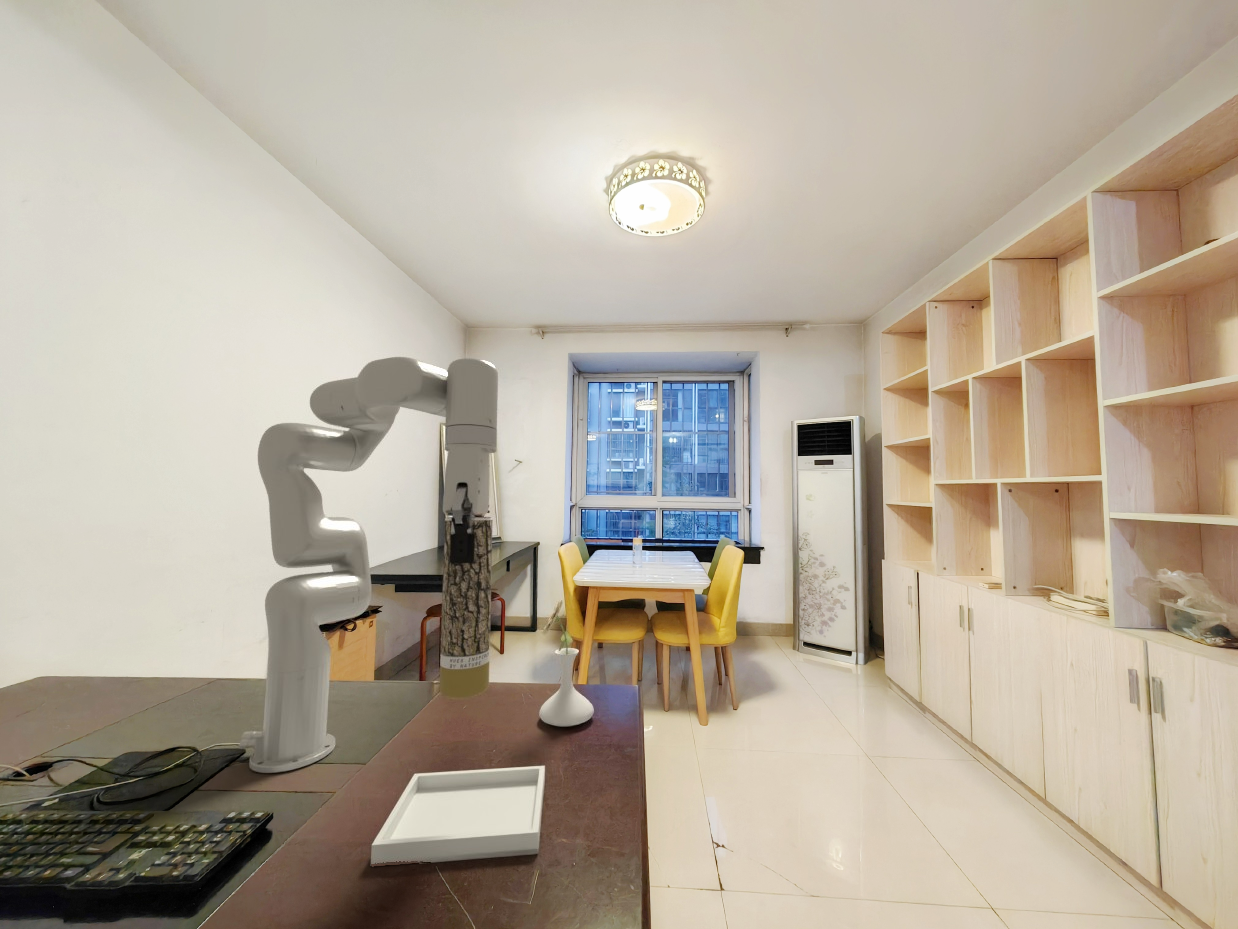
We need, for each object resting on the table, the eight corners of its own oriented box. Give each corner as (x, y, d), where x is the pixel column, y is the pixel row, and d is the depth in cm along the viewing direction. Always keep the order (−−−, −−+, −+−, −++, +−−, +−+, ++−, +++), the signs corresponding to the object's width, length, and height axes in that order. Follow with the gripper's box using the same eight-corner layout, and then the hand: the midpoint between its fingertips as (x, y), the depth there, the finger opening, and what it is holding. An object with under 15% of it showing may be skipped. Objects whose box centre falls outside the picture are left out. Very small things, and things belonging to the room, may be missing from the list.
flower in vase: (553, 706, 105) (554, 591, 107) (601, 712, 101) (601, 593, 104) (524, 732, 92) (526, 601, 95) (578, 740, 89) (578, 604, 92)
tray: (370, 867, 57) (371, 845, 57) (413, 791, 73) (414, 773, 73) (538, 853, 59) (538, 832, 59) (544, 782, 75) (544, 765, 75)
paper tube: (498, 687, 69) (502, 516, 72) (465, 704, 63) (470, 516, 66) (463, 681, 72) (467, 517, 75) (428, 696, 66) (434, 517, 69)
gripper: (459, 449, 80) (456, 556, 78) (428, 430, 62) (423, 567, 61) (504, 449, 80) (502, 555, 78) (486, 431, 63) (482, 566, 61)
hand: (468, 559), depth 69 cm, fingers closed on paper tube, 6 cm apart
